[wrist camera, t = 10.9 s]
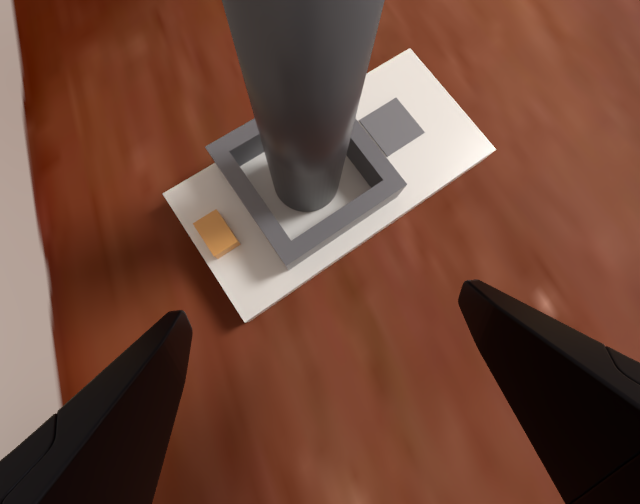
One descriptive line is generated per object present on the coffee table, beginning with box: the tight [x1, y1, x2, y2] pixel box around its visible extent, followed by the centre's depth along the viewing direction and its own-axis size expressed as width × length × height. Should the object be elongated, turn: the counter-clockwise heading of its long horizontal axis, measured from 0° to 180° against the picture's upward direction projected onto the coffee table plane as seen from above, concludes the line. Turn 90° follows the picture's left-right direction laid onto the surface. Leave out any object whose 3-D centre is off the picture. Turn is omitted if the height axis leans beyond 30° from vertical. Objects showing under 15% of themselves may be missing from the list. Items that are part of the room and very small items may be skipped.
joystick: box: [222, 0, 384, 212], centre depth 12 cm, size 4×4×14 cm
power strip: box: [163, 48, 496, 323], centre depth 18 cm, size 20×10×4 cm, turn 125°
